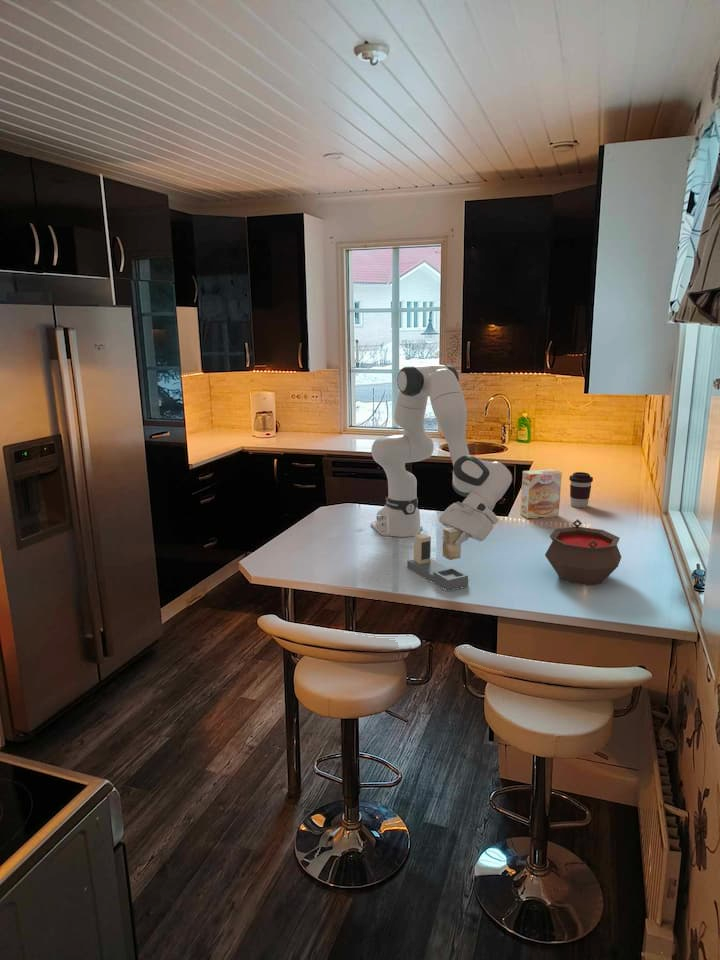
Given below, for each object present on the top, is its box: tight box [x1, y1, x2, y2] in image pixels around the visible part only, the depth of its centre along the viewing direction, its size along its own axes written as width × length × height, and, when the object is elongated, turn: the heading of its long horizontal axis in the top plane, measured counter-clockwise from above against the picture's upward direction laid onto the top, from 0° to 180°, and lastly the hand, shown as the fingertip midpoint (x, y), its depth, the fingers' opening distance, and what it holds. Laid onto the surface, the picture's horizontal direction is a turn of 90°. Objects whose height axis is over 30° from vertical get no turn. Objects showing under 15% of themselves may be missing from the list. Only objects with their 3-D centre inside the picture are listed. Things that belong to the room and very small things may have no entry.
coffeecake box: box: [519, 468, 563, 519], centre depth 271 cm, size 15×7×20 cm, turn 104°
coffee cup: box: [568, 471, 594, 508], centre depth 285 cm, size 10×10×15 cm
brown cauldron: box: [544, 518, 622, 586], centre depth 205 cm, size 24×24×16 cm
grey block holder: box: [406, 532, 469, 592], centre depth 206 cm, size 23×8×12 cm, turn 28°
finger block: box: [442, 527, 462, 561], centre depth 198 cm, size 4×4×9 cm
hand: (449, 542), depth 198 cm, fingers closed on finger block, 4 cm apart
